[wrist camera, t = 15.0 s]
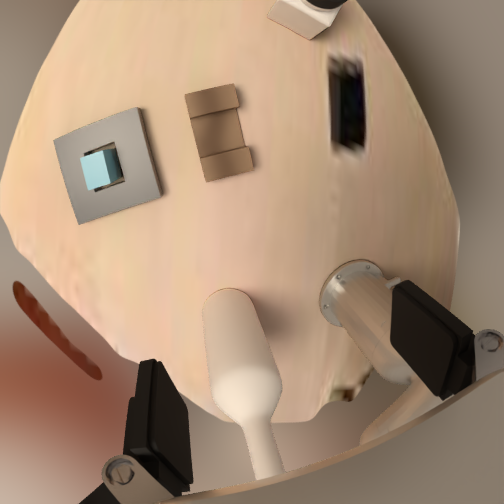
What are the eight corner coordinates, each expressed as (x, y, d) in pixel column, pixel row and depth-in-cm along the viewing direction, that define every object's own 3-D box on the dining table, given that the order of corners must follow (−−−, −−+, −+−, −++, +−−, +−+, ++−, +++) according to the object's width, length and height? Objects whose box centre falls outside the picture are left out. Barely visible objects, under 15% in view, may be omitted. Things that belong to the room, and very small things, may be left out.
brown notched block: (230, 87, 36) (233, 83, 32) (248, 167, 40) (253, 170, 37) (185, 98, 35) (184, 94, 32) (205, 178, 39) (206, 182, 36)
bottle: (254, 286, 47) (328, 457, 19) (252, 329, 50) (310, 494, 22) (200, 289, 45) (224, 475, 18) (203, 332, 48) (227, 508, 21)
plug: (115, 148, 36) (102, 150, 30) (121, 176, 37) (110, 183, 32) (95, 154, 35) (79, 158, 30) (101, 182, 37) (88, 190, 31)
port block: (140, 108, 34) (136, 106, 32) (162, 194, 39) (160, 197, 37) (60, 139, 33) (53, 140, 31) (84, 219, 38) (78, 224, 36)
